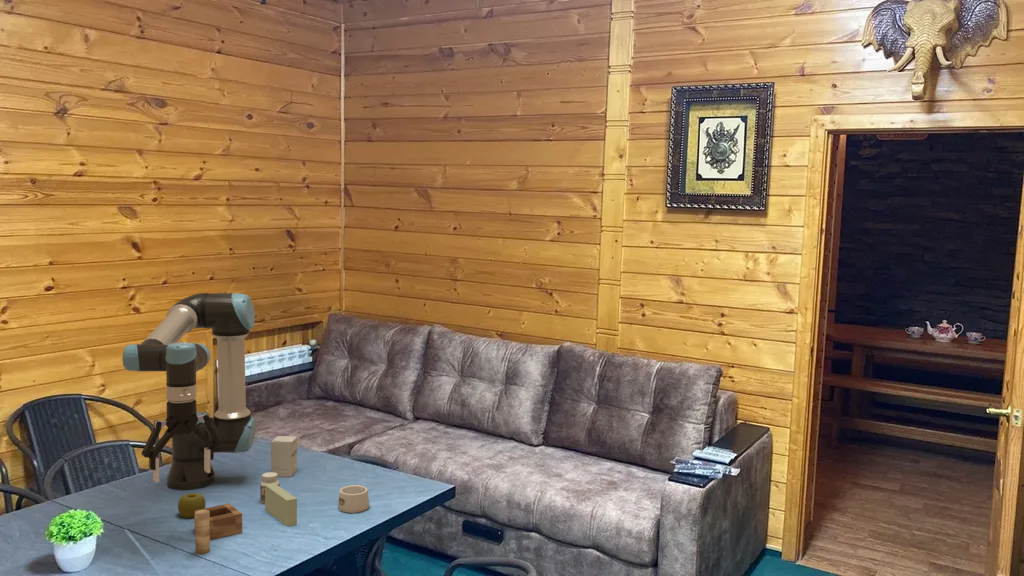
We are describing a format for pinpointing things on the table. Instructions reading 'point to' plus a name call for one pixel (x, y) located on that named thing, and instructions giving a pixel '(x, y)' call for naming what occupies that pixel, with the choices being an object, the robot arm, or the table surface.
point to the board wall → (281, 504)
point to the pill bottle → (267, 479)
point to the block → (224, 521)
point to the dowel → (202, 532)
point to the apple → (190, 504)
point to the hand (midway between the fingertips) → (182, 476)
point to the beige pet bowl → (353, 499)
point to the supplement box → (284, 455)
